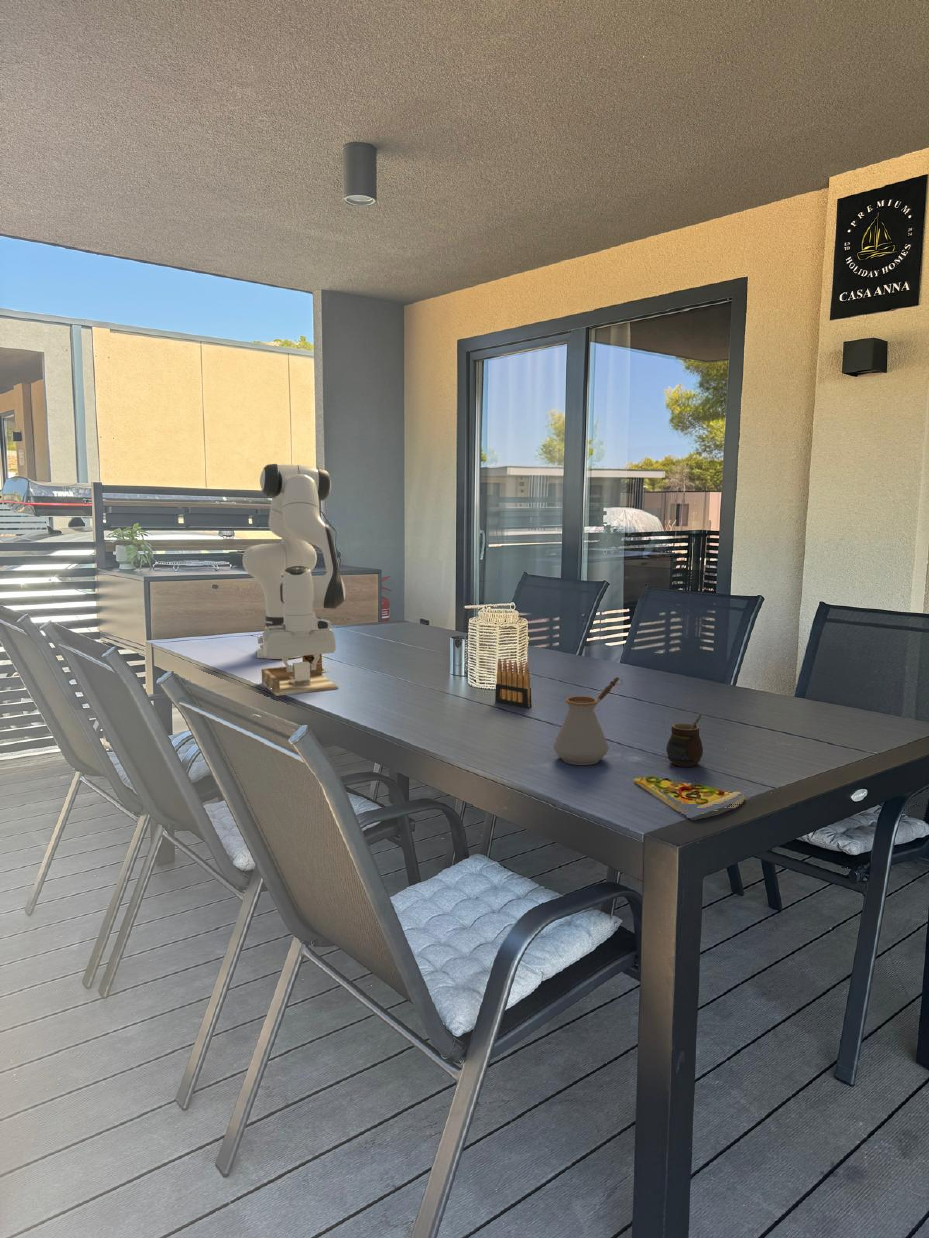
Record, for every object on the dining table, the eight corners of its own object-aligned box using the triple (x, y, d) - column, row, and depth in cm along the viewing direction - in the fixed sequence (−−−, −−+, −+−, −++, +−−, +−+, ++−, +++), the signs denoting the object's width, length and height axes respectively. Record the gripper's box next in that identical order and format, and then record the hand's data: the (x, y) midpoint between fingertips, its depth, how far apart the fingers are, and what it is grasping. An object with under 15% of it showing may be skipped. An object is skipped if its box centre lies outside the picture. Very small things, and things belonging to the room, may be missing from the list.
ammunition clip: (494, 702, 226) (494, 658, 224) (499, 700, 227) (498, 657, 225) (527, 708, 219) (527, 663, 217) (531, 706, 220) (531, 661, 219)
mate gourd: (658, 762, 174) (659, 715, 173) (682, 756, 179) (684, 710, 177) (685, 771, 169) (687, 722, 167) (710, 764, 173) (712, 717, 171)
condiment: (305, 674, 262) (303, 636, 261) (297, 669, 270) (295, 632, 268) (327, 672, 266) (326, 634, 264) (319, 667, 273) (317, 630, 271)
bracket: (310, 684, 244) (309, 662, 243) (295, 686, 242) (294, 664, 242) (304, 679, 251) (303, 658, 250) (289, 681, 249) (288, 659, 248)
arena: (262, 682, 251) (261, 668, 251) (321, 676, 259) (320, 663, 258) (275, 695, 235) (275, 680, 235) (338, 688, 243) (337, 674, 242)
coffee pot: (589, 772, 169) (590, 699, 167) (542, 760, 176) (542, 690, 174) (641, 746, 185) (642, 680, 183) (595, 737, 192) (596, 673, 190)
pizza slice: (700, 826, 143) (701, 809, 142) (607, 793, 158) (607, 778, 158) (752, 804, 152) (752, 788, 152) (659, 775, 168) (659, 761, 168)
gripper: (265, 627, 234) (267, 676, 236) (336, 622, 243) (338, 669, 245) (260, 624, 240) (262, 672, 242) (330, 619, 249) (332, 665, 251)
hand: (301, 670), depth 244 cm, fingers open, 5 cm apart
